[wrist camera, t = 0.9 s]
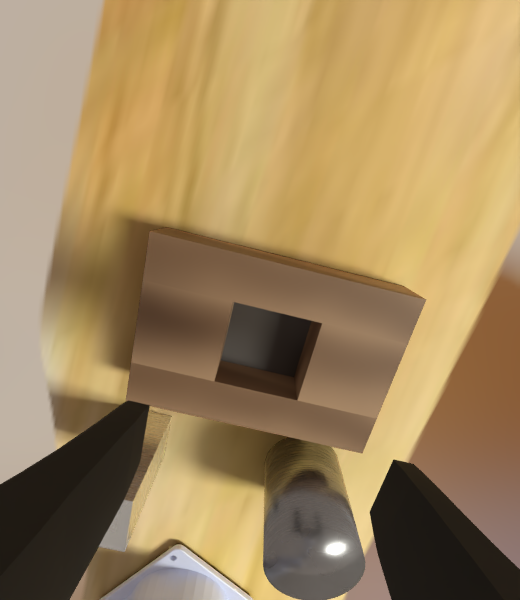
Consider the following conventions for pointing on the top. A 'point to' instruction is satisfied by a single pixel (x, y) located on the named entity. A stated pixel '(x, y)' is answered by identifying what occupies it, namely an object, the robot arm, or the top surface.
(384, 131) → the top surface
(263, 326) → the bore block
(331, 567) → the round bit
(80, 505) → the robot arm
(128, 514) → the square bit
